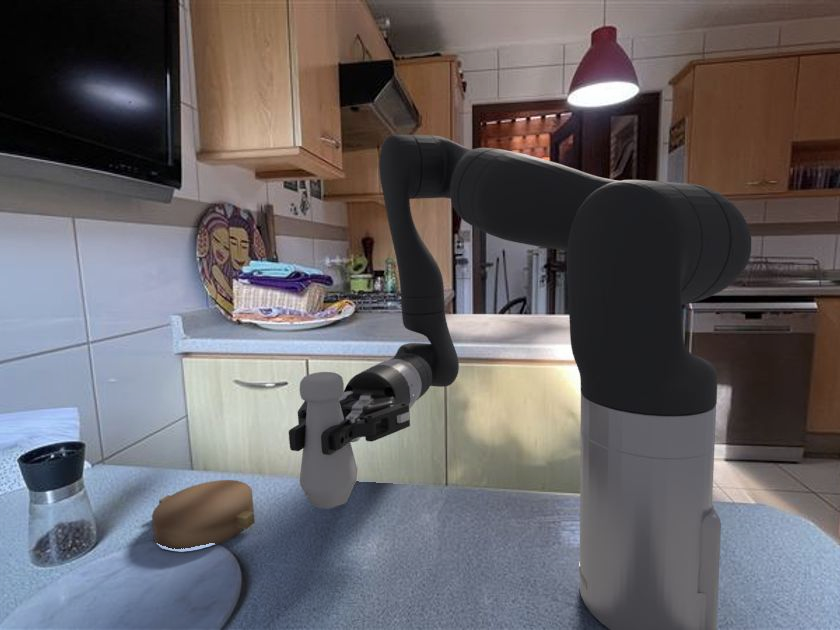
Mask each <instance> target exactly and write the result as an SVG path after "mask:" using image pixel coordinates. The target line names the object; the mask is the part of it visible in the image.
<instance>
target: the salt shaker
mask: <svg viewBox="0 0 840 630" xmlns="http://www.w3.org/2000/svg"><path fill="white" fill-rule="evenodd" d="M299 382H300V383H299V395H300V398H301V400H303V401H307V414H306V427H305V444H304V448H303V449H302V454H301V455H302V456H301V464H300V473H299V474H300V475H299V485H300V487H301V490H303V492H304V494H305V495H306V497H307V499H308V500H309V503H310V504H311V507H314V508H318V509H319V508H320V509H326V510H330V509H333V508H336V507H338V506H341V505H344V504H346V503H347V502H348V500H349V499H350V498H349V497H350V496H351V494H352V490H353V489H354V487H355V484H356V482H357V479H358V478H357V477H358V471H359V469H358V466H357V463H356V459H355V458H356V457H355V455H354V451H353V448H352V442H349V443H348V444H346V445H345V446H344V447H342V448H341V449H339V450H337V451H335V452H334V453H333V454H332V455H325V454H323V453H322V446H321V435H322V433H323V432H324V431H325V430H327V429H328V428H330V427H331V426H334V425H338V424H340V423H341V422H342V421H343V420H344V417H343V413H342V409H341V405H340V402H339V397H340V396H342V394H343V392H344V390H345V386H344V385H345V384H344V379H343V376H341V375H340V374H339V373H337V372H333V371H320V372H319V371H317V372H313V373H309V374H308V375H305V376H304V377H302V379H301V381H299Z"/></svg>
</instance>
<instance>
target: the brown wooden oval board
mask: <svg viewBox="0 0 840 630" xmlns="http://www.w3.org/2000/svg"><path fill="white" fill-rule="evenodd" d="M254 511H255V509H254V499H253V489H252V488H251V486H250V485H249V484H247V483H245V482H244V481H239V480H233V479H219V480H214V481H213V480H212V481H206V482H202V483H199V484H195V485H191V486H189V487H187V488H184V489H182V490H181V489H180V490H179V491H177V492H175V493H173V494H171V495H166V496H164V497H162V498H161V499H159V500H158V505H157V506H156V507H155V508H154V510H153V512H152V516H151V520H152V527H153V537H154V543H155V542H156V543H158V544H160V545H162V546H166V547H168V548H172V549H174V548H175V549H181V548H182V549H183V548H184V549H185V548H191V547H195V546H200V545H206V544H209V543H215V544H217V545H220V544H222V543H225V542H227V541H228V540H230V539H232V538H234V537H235V536H237V535H238V534H240V533H241V532H243V530H248V529H249V528H250V527H252V526H253V525H254V524H255V521H256V520H255V512H254ZM156 543H155V544H156Z"/></svg>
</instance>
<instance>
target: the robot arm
mask: <svg viewBox="0 0 840 630" xmlns="http://www.w3.org/2000/svg"><path fill="white" fill-rule="evenodd" d="M378 161H379V178H380V185H381V192H382V196H383V201H384V207H385V211H386V216H387V221H388V227H389V230H390V235H391V240H392V245H393V249H394V255H395V259H396V264H397V271H398V277H399V278H398V279H399V288H400V289H399V290H400V291H399V292H400V303H401V315H402V318H401V319H402V323H403V326H404V327H405V329H407V330H408V331H411V332H413V333H417V334H420V335H423V336H425V337H426V338H427V340H428V341H429V343H424V342H422V343H421V342H410V343H405V344H402V345H401V346H400V347H399V348H398V349H397V352H396V353H395V355H394V357H393V358H391V359H389V360H384V361H382V362H378V363H377V364H375V365H373V366H372V367H369V368H367V369H365V370H363V371H361V372H359V373H357V374H356V375H354V376H353V377H352V378H350V380H349V381H348V382H347V384H346V386H345V387H344V390H343V394H342V396H340V397H339V402H340V405H341V409H342V413H343V417H344V420H343V421H342V422H341V423H340V424H338V425H334V426H331V427H330V428H328V429H327V430H325V431H324V432H323V433H322V435H321V446H322V453H323V454H325V455H332V454H333V453H334V452H335V451H337V450H339V449H341V448H342V447H344V446H345V445H346V444H348V443H349V442H350V443H356V442H358V441H360V439H361V438H365V441H366V442H375V441H377V440H380V439H382V438H384V437H388V436H390V435H392V434H395V433H397V432H399V431H401V430H404V429H407V428H408V427H409V428H410V426H411V414H410V410H411V408H412V407H413V406H414V405H415V403H416V402H417V401H418V400H419V399H420V398H422V397H423V396H424V395H425V394H426V393H427V392H428V390H429V389H430V387H440V388H441V387H442V388H444V387H445V388H446V387H449V386H451V385H452V384H453V383H454V382H455V380H456V379H457V377H458V375H459V371H460V370H459V369H460V365H459V363H460V362H459V358H458V357H459V356H458V354H457V351H456V348H455V345H454V342H453V340H452V337H451V333H450V330H449V327H448V322H447V318H446V309H445V308H446V307H445V305H446V304H445V290H444V289H445V288H444V286H445V285H444V279H443V275H442V272H441V269H440V267H439V265H438V263H437V261H436V259H435V258H434V256H433V254H432V253H431V252H430V250H429V248H428V247H427V245H426V244H425V242H424V241H423V240H422V238H421V235H420V233H419V232H418V229H417V227H416V225H415V223H414V220H413V215H412V212H411V211H412V210H411V203H410V200H413V199H414V200H415V199H416V200H417V199H418V200H419V199H441V198H442V199H450V201H451V204H452V207H453V209H454V211H455V212H456V214H457V215H458V217H460V218H461V220H463V221H464V222H465V223H467V224H468V225H470V226H472V227H474V228H476V229H477V230H479V231H482V232H484V233H486V234H488V235H491V236H493V237H496V238H498V239H501V240H504V241H507V242H513V243H519V244H524V245H527V246H528V245H529V246H534V247H540V248H547V249H553V250H559V251H560V250H561V251H566V276H567V300H568V315H569V335H570V336H569V337H570V339H569V340H570V346H571V347H570V348H571V351H572V352H571V353H572V356H573V359H574V362H575V364H576V367H577V369H578V372H579V379H580V448H579V449H580V451H579V452H580V455H579V457H580V461H579V462H580V465H579V466H580V469H579V471H580V472H579V475H580V477H579V481H580V482H579V560H578V561H579V562H578V570H579V571H578V572H579V592H580V596H581V599H582V601H583V603H584V605H585V606H586V608H587V609H588V611H589V612H590V613H591V615H592V616H593V617H594V618H595V619H597V621H598V622H600V624H601V625H603V626H604V627H606V628H607V629H608V630H717V626H718V603H719V581H720V580H719V579H720V578H719V577H720V559H721V558H720V556H721V537H722V535H721V534H722V522H721V517H720V516H719V514H718V513H717V511H716V509H715V506H714V505H713V493H714V491H713V490H714V489H713V488H714V468H715V467H714V466H715V445H716V444H715V442H716V441H715V440H716V418H717V417H716V416H717V401H718V400H717V399H718V398H717V397H718V374H717V370H716V369H715V367H714V366H713V364H712V363H711V362H710V361H708V360H706V359H704V358H702V357H699V356H698V355H695V354H692V353H691V352H690V351H689V350H688V348H687V346H686V343H685V341H684V340H685V339H684V332H683V312H682V311H683V310H682V309H683V307H682V306H683V305H689V304H692V303H695V302H699V301H702V300H705V299H707V298H710V297H712V296H714V295H716V294H719V293H720V292H722V291H724V290H725V289H727V288H728V287H730V286H731V285H732V284H733V283H734V282H735V281H737V279H738V278H739V277H740V276H741V275H742V274H743V272H744V271H745V270H746V268H747V265H748V264H749V261H750V258H751V254H752V236H751V232H750V228H749V225H748V223H747V221H746V219H745V217H744V215H743V214H742V213H741V211H740V210H739V208H738V207H737V206H736V205H735V204H734V203H733V202H732V201H731V200H729V199H728V198H727V197H726V196H724V194H721V193H719V192H718V191H716V190H714V189H711V188H709V187H707V186H702V185H699V184H696V183H686V182H673V181H672V182H671V181H660V180H645V179H643V180H642V179H623V180H615V179H610V178H605V177H601V176H597V175H594V174H590V173H587V172H584V171H581V170H579V169H576V168H573V167H569V166H566V165H564V164H561V163H557V162H555V161H554V162H553V161H551V160H547V159H543V158H539V157H536V156H533V155H529V154H525V153H521V152H516V151H510V150H506V149H501V148H491V147H477V148H468V147H466V146H464V145H462V144H459V143H457V142H455V141H453V140H451V139H448V138H446V137H443V136H439V135H431V134H430V135H429V134H428V135H427V134H425V135H424V134H392V135H389V136H387V138H385V139H384V141H383V143H382V145H381V148H380V152H379V160H378ZM303 401H304V400H303ZM306 414H307V401H304V402H302V405H301V406H300V407H299V409H298V410H297V419H298V423H297V425H295V426H293V427H292V428H290V429H289V430H288V441H289V449H290V450H291V451H294V452H300V451H302V450H303V448H304V444H305V427H306Z"/></svg>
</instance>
